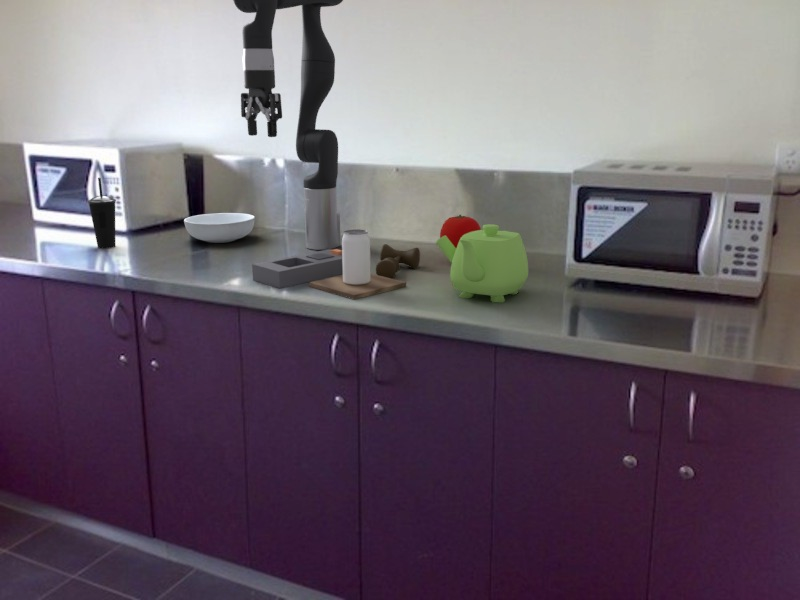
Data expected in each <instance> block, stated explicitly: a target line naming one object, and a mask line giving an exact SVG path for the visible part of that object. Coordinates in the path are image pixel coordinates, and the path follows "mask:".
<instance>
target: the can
mask: <svg viewBox="0 0 800 600" xmlns="http://www.w3.org/2000/svg"><path fill="white" fill-rule="evenodd" d="M368 233H369V231H368V230H366V229H361V228H360V229H346V230H344V231H343V236H342V238H341V250H342V264H343V274H342V275H343V282H344V283H345V284H348V285H364V284H368V283H369V282H370V273H371V239H370V236H369V234H368Z"/></svg>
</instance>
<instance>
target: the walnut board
mask: <svg viewBox="0 0 800 600" xmlns="http://www.w3.org/2000/svg"><path fill="white" fill-rule="evenodd" d="M308 283H309V287H310V288H313V287H314V288H313V289H316V288H317V290H320V289H321V290H320V291H323V290H324V291H323V292H327V291H328V292H327V293H330V292H331V294H333V293H335V294H334V295H337V294H339V295H338V296H340V295H342V296H341V297H344V296H347V297H350V298H353V299H352V300H356V299H355V298H358V299H361V298H360V297H362V298H366V297H369V295H370V296H375V295H377V294H381V293H385V292H389V291H393V290H394V291H395V290H397V289H398V290H399V289H401V288H405V287H407V284H406V283H407V281H403V280H399V279H394V278H392V279H391V278H387V277H383V276H379V275H377V274H376V273H375V274H374V273H371V272H370V282H369V283H368V284H364V285H348V284H345V283H344V282H343V274H342V275H338V276H333V277H329V278H324V279H320V280H315V281H311V282H308ZM365 296H366V297H365ZM347 297H346V298H347ZM350 298H349V299H350Z"/></svg>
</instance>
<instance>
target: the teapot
mask: <svg viewBox="0 0 800 600" xmlns="http://www.w3.org/2000/svg"><path fill="white" fill-rule="evenodd" d="M499 229H500V225H497V224H491V223H489V224H483V225H482V229H481V230H477V231H473V232H469V233H467V234H465V235H463V236H462V237H461V238H460V240H459V243H458V245H457V248H455V247H454V245H453V244H452V243H451V242H450V240H449V239H448V238H447V236H446V235H445V236H443V237H441V238H440V237H439V239H437V240H436V242H435V245H436V246H437V247H438V248H439V249H440V250H441V252H442V253H443V254H444V256H445V257H446V258H447V259H448V260H449V262H450V263H451V265H450V271H449V273H450V277H449V278H450V283H451V284H452V287H453V288H454V290H456V291H459V292H461V293H460V294H459V295H458V297H459V298H461V299H472V298H474V295H484V296H490V302H491V301H492V302H491V303H493V302H504V301H505V302H506V298H505V295H506V296H507V295H508V294H516V293H518V292H519V290H520V289H522V288H523V286H524V285H525V283H526V281H527V280H528V276H529V261H528V255H527V252H526V248H525V244H524V241H523V239H522V236H521V234H520V233H519V232H514V231H508V230H499ZM505 302H504V303H505Z"/></svg>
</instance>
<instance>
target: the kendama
mask: <svg viewBox="0 0 800 600" xmlns="http://www.w3.org/2000/svg"><path fill="white" fill-rule="evenodd" d="M380 250H381V251H380V258H379V259H380V260H379V261H378V263H376V266H375V275H379V276H383V277H387V278H391V279H394V278H395V277H396V275H397V273H398V272H399V270H400V264H402V265H405V266H408V267H409V268H411V269H413V270H416V269H418V268H419V265H420V260H421V253H420V252H421V251H420V248H419V247H414V248H411V249H407V250H399V249H395V248H393V247H391V246H390V245H389V244H387V243H386V244H383V245H382V247H381V249H380Z"/></svg>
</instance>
